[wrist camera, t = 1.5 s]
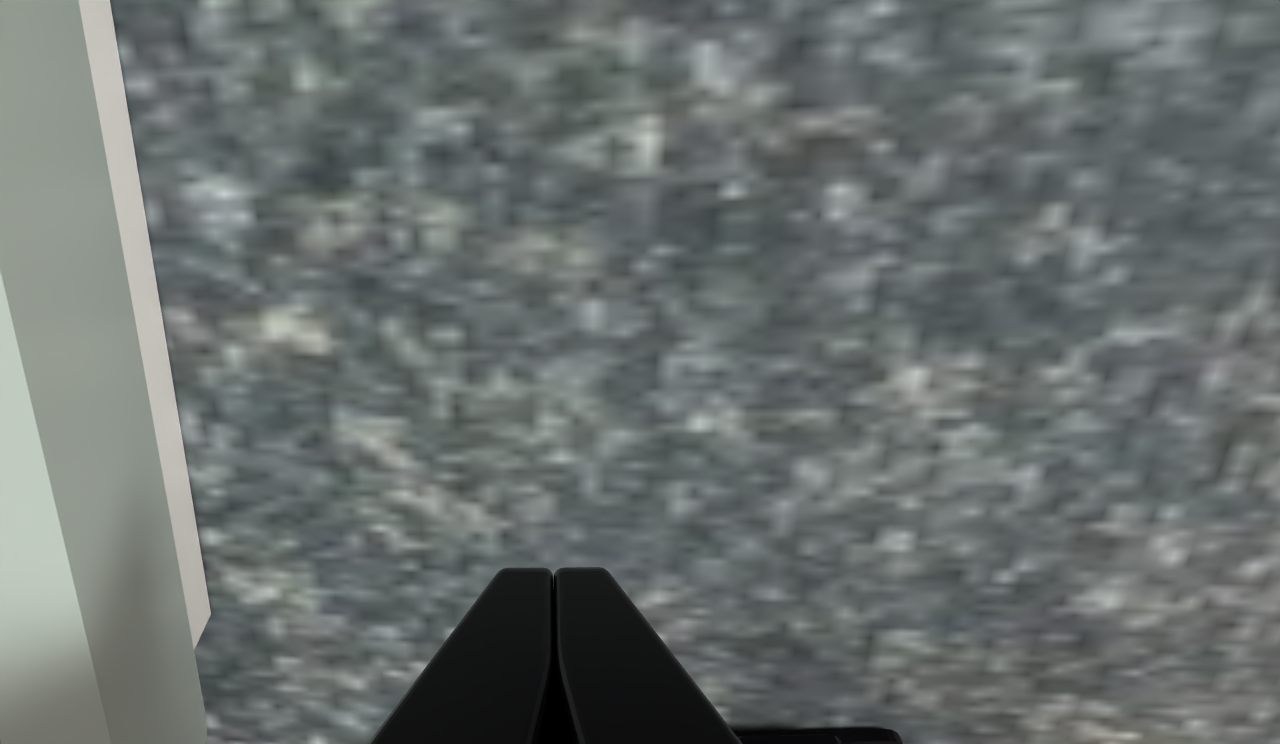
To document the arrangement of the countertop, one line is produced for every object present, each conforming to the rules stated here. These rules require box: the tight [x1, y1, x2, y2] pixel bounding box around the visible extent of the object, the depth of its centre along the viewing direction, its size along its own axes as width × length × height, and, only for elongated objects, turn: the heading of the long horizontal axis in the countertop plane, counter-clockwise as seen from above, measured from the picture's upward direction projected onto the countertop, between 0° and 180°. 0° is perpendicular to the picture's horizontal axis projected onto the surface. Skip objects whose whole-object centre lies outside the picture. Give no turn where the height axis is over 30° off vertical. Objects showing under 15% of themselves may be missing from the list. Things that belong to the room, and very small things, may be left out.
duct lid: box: [0, 0, 207, 744], centre depth 12 cm, size 20×9×1 cm
